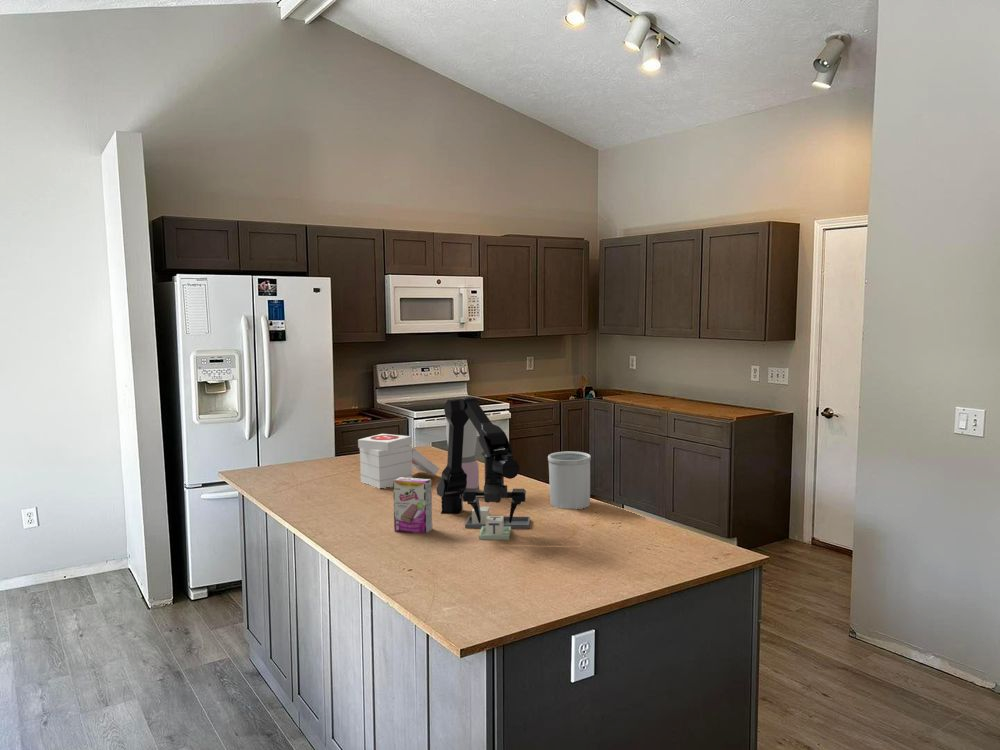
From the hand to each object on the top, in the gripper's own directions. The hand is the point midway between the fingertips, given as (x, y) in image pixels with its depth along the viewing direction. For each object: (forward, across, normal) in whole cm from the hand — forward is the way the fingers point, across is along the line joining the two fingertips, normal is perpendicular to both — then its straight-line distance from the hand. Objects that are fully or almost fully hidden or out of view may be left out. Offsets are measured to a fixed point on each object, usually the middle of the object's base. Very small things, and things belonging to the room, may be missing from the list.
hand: (495, 522), depth 226 cm
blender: (+4, -17, +50) cm, 53 cm away
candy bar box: (+4, -26, +4) cm, 27 cm away
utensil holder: (+4, +23, +36) cm, 43 cm away
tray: (+4, 0, 0) cm, 4 cm away
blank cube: (+4, -6, +11) cm, 13 cm away
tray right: (+4, +6, +11) cm, 13 cm away
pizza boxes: (+4, -45, +70) cm, 84 cm away
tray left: (+4, -6, +11) cm, 13 cm away
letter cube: (+4, 0, 0) cm, 4 cm away
